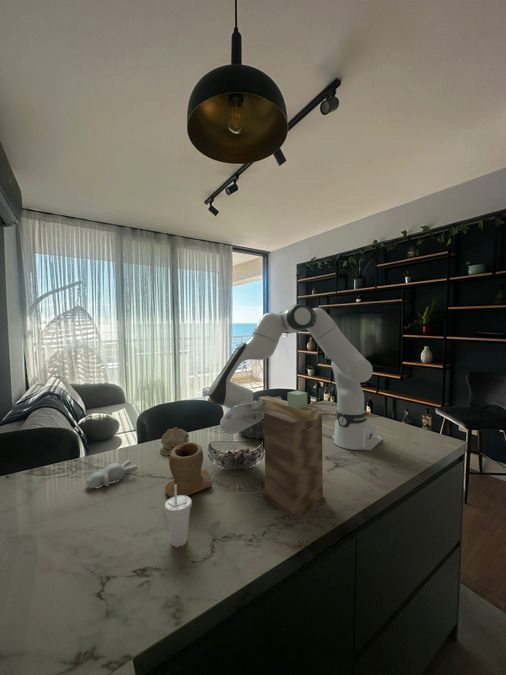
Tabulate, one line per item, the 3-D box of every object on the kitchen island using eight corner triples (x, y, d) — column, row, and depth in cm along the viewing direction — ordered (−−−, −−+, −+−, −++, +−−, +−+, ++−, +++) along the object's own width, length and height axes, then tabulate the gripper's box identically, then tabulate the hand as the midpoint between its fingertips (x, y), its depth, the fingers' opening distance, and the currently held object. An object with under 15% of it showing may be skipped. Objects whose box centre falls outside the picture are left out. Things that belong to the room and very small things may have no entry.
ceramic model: (154, 455, 121) (153, 431, 120) (166, 444, 132) (166, 422, 131) (187, 457, 118) (186, 432, 118) (196, 446, 129) (196, 423, 129)
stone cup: (173, 508, 85) (172, 457, 84) (161, 489, 95) (160, 443, 94) (220, 491, 93) (219, 444, 93) (205, 475, 103) (204, 433, 103)
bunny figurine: (82, 472, 99) (127, 453, 109) (85, 486, 100) (129, 466, 110) (91, 483, 92) (138, 461, 102) (94, 498, 93) (140, 475, 103)
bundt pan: (296, 429, 148) (296, 409, 148) (270, 447, 126) (270, 424, 126) (252, 420, 162) (251, 403, 162) (222, 436, 140) (221, 415, 140)
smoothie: (168, 533, 75) (166, 478, 74) (194, 531, 75) (192, 477, 75) (163, 552, 68) (161, 493, 68) (191, 550, 69) (189, 491, 68)
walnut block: (293, 483, 97) (292, 405, 96) (325, 501, 87) (324, 414, 86) (263, 497, 89) (261, 412, 88) (293, 519, 79) (292, 423, 78)
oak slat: (266, 403, 99) (266, 395, 99) (317, 418, 82) (317, 409, 82) (258, 404, 97) (258, 397, 97) (308, 421, 80) (308, 412, 80)
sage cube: (297, 403, 88) (297, 390, 88) (307, 406, 85) (307, 392, 85) (287, 406, 86) (287, 392, 86) (297, 409, 83) (297, 395, 82)
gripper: (220, 410, 100) (239, 396, 91) (266, 400, 113) (288, 387, 103) (225, 428, 98) (246, 416, 88) (272, 416, 110) (294, 404, 101)
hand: (269, 400), depth 96 cm, fingers closed on oak slat, 3 cm apart
